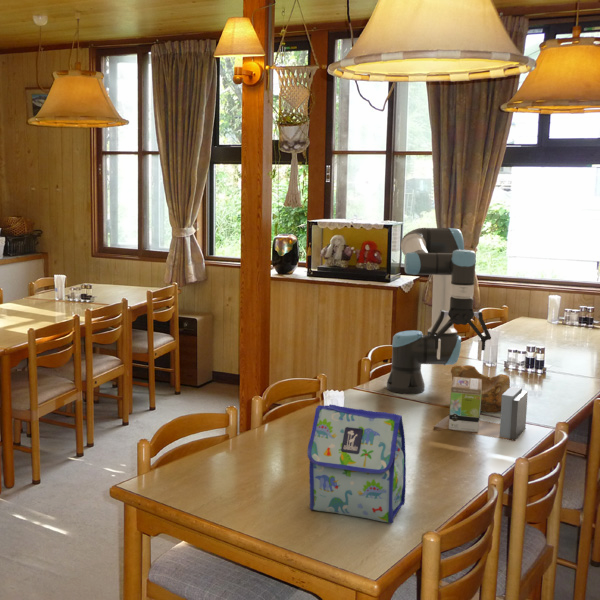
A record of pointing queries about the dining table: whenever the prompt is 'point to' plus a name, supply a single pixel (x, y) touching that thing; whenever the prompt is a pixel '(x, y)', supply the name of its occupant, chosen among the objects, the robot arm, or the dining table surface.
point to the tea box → (465, 404)
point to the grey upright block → (507, 410)
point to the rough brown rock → (485, 387)
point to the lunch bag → (357, 462)
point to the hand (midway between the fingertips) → (458, 359)
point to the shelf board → (484, 429)
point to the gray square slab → (518, 415)
